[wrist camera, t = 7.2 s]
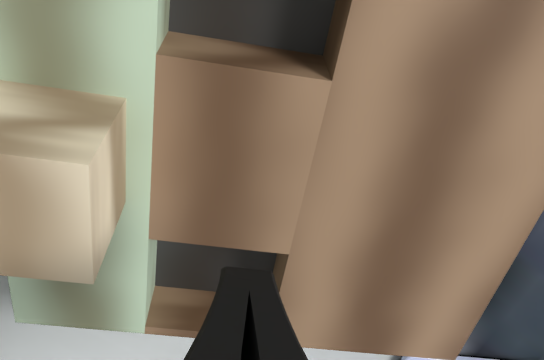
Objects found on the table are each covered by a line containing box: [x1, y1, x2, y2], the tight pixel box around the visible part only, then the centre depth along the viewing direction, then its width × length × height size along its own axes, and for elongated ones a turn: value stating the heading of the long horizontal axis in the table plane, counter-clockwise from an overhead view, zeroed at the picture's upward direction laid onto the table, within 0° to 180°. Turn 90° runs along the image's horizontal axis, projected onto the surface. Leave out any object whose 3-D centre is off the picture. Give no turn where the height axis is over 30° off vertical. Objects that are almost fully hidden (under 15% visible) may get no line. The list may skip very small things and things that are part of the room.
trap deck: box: [0, 0, 544, 360], centre depth 20 cm, size 22×20×3 cm
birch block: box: [0, 80, 126, 285], centre depth 16 cm, size 4×4×4 cm
